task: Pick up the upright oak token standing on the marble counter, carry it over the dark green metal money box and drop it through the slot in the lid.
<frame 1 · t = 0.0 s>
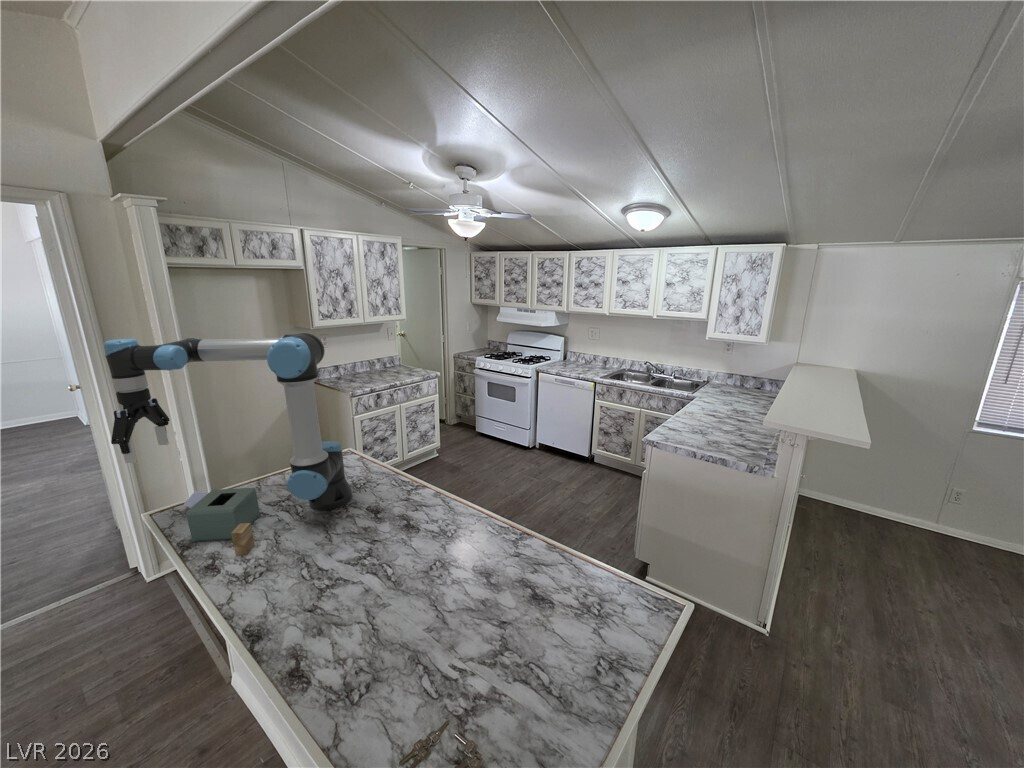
hand: (148, 453, 129), 28 cm above the table, fingers open, 13 cm apart
coin box: (228, 528, 136), on the table
token: (245, 550, 125), on the table
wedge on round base: (209, 511, 147), on the table
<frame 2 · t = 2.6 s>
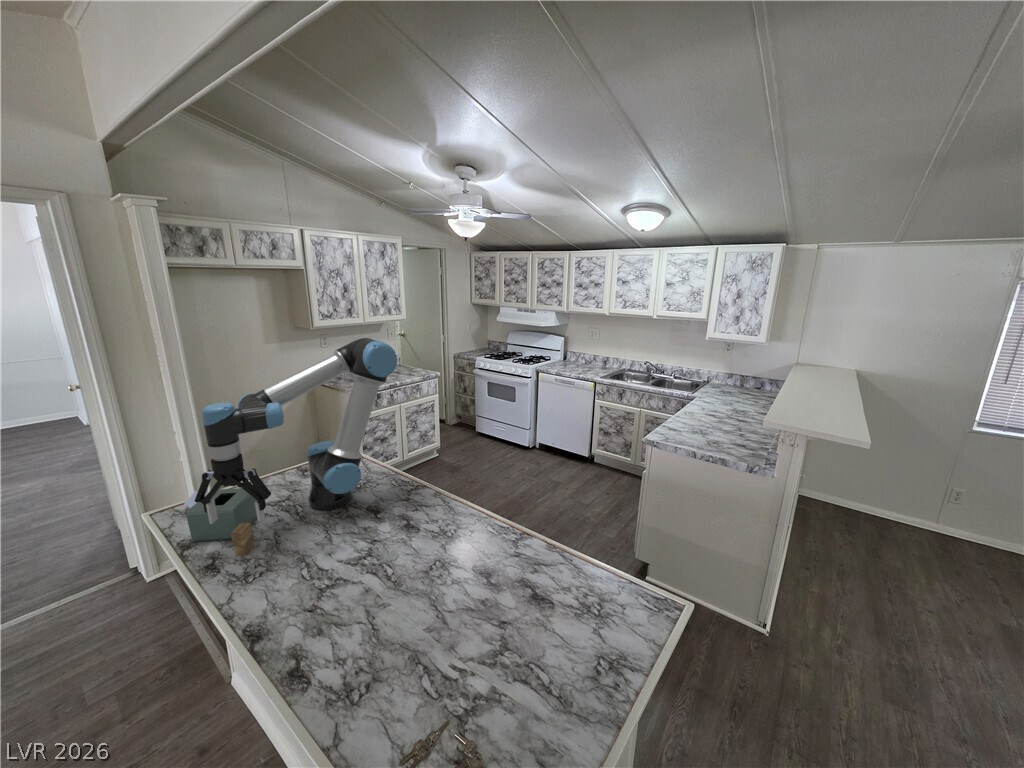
hand: (237, 520, 122), 11 cm above the table, fingers open, 13 cm apart
nothing on the table moved.
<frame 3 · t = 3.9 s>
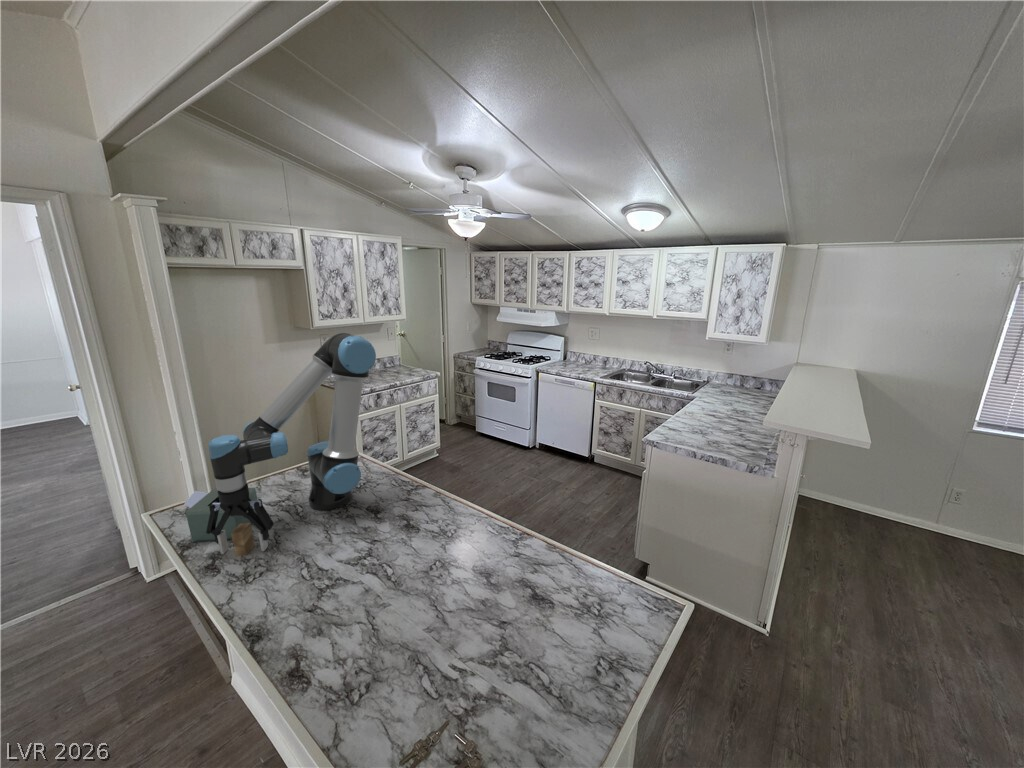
hand: (245, 549, 125), 0 cm above the table, fingers open, 11 cm apart
nothing on the table moved.
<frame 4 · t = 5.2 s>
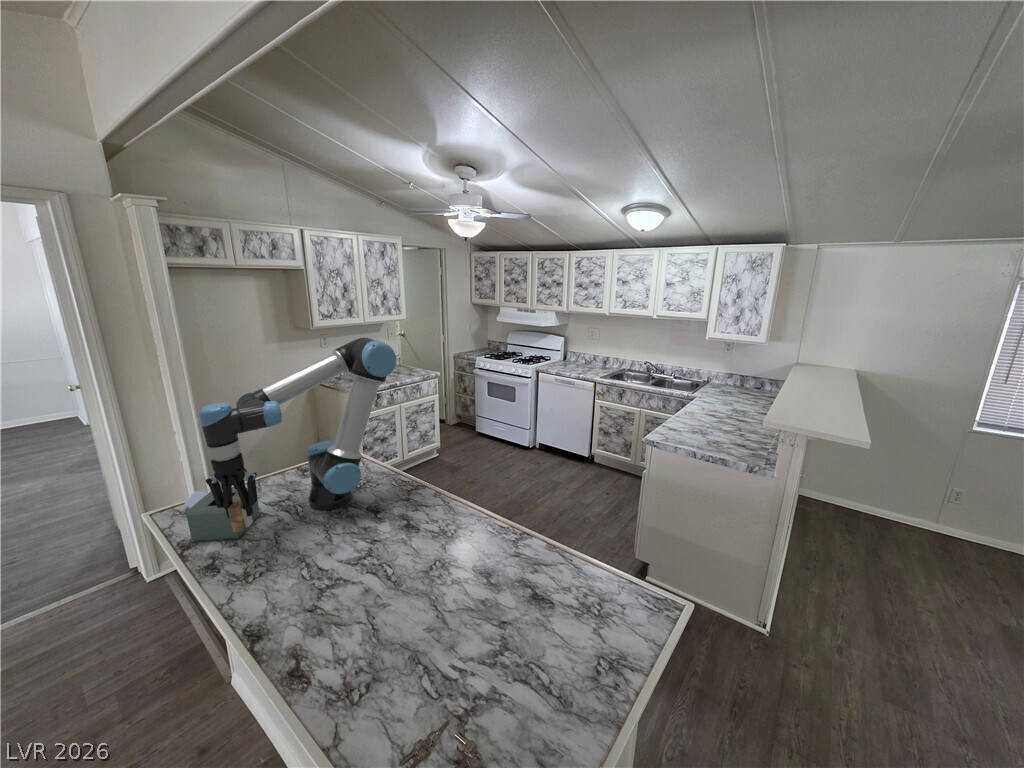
hand: (243, 525, 123), 9 cm above the table, fingers closed on token, 3 cm apart
token: (243, 526, 123), point 8 cm above the table, touching gripper
everything else where it was.
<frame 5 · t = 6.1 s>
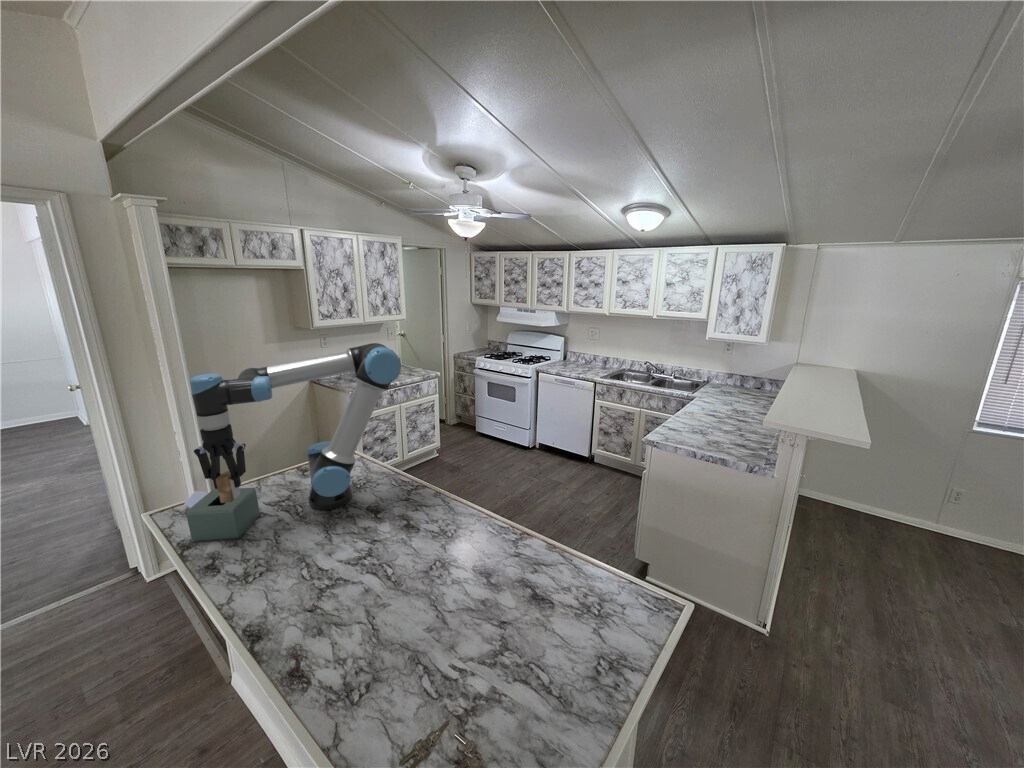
hand: (230, 496, 125), 16 cm above the table, fingers closed on token, 3 cm apart
token: (230, 498, 125), point 16 cm above the table, touching gripper
everything else where it was.
when the fingers open (13 cm above the table, at t = 7.3 s): token drops 11 cm and tips over, resting on coin box.
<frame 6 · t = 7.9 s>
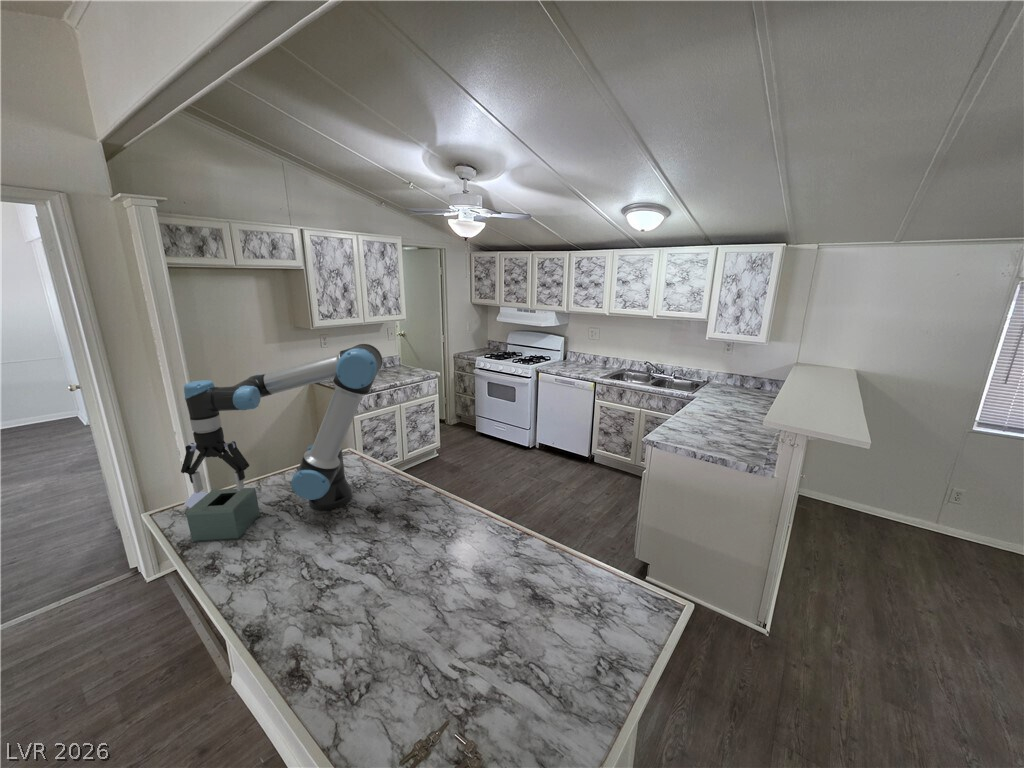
hand: (220, 490, 133), 14 cm above the table, fingers open, 12 cm apart
token: (228, 524, 136), point 1 cm above the table, tilted 33°, touching coin box
everything else where it was.
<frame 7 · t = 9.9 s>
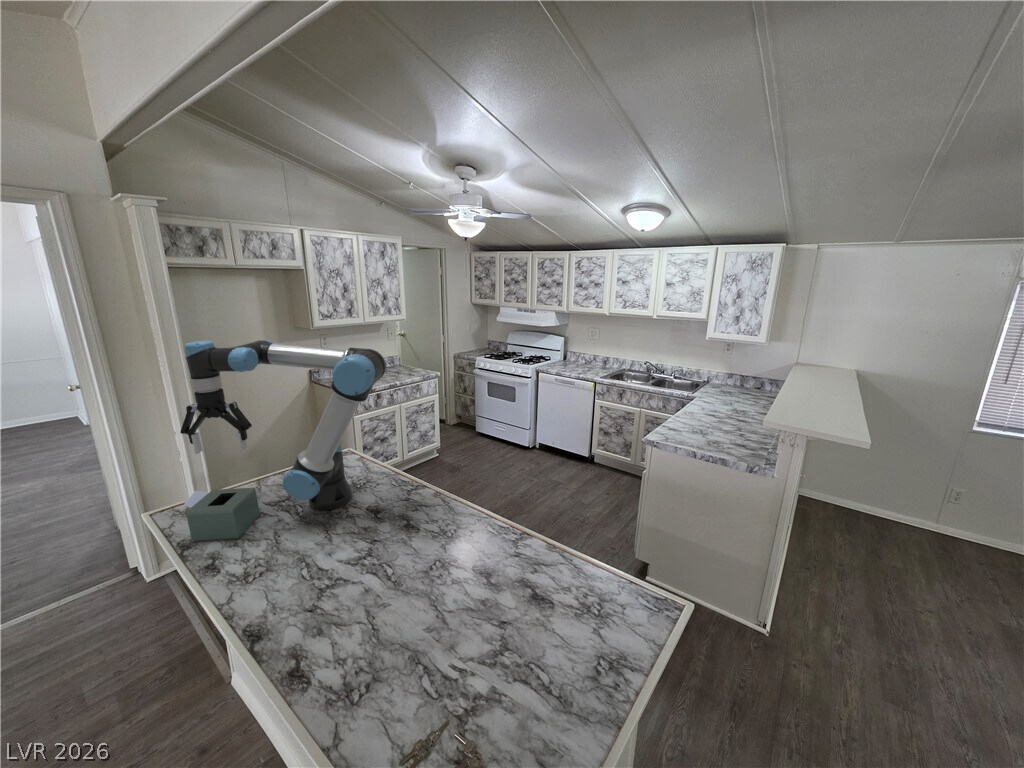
hand: (221, 450, 134), 26 cm above the table, fingers open, 13 cm apart
nothing on the table moved.
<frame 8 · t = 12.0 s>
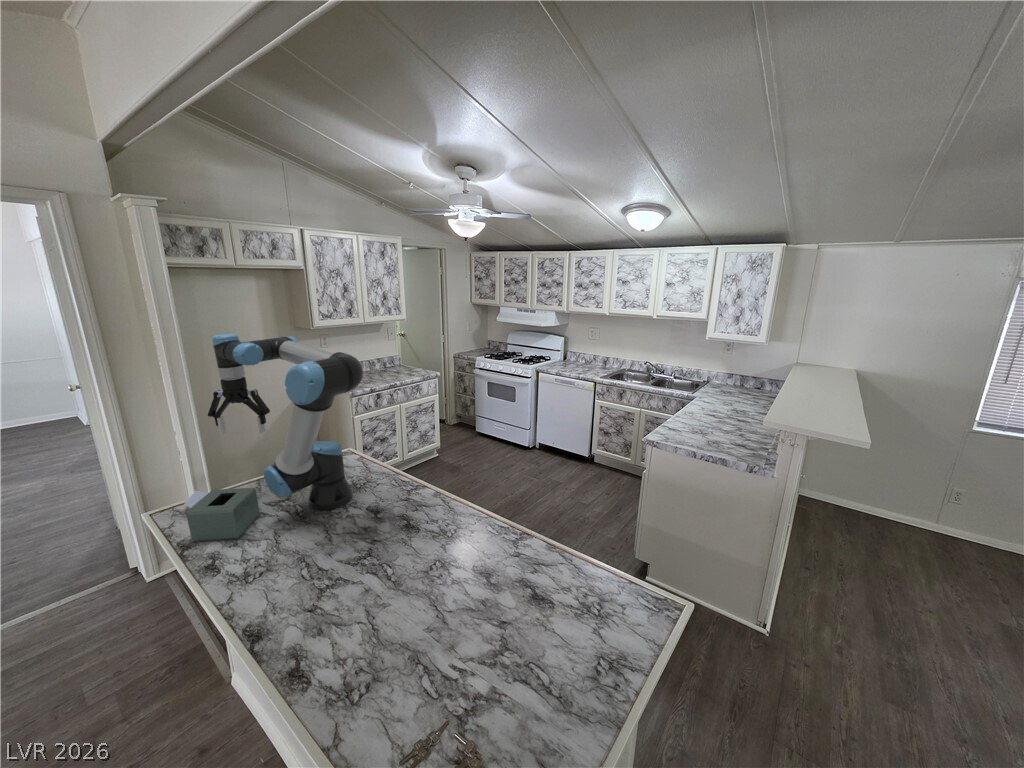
hand: (243, 433, 149), 27 cm above the table, fingers open, 13 cm apart
nothing on the table moved.
at the end: token inside the target area on the coin box (0.4 cm from its centre), point 1.4 cm above the coin box's base; the gripper is holding nothing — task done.
